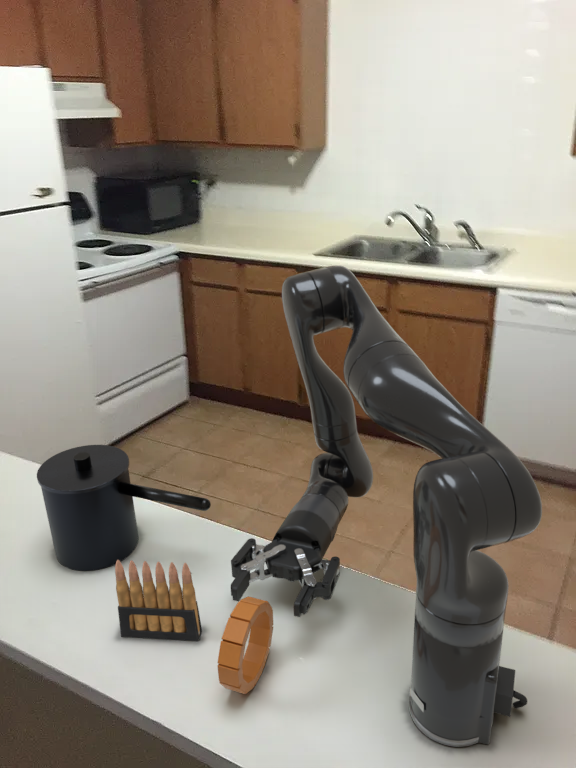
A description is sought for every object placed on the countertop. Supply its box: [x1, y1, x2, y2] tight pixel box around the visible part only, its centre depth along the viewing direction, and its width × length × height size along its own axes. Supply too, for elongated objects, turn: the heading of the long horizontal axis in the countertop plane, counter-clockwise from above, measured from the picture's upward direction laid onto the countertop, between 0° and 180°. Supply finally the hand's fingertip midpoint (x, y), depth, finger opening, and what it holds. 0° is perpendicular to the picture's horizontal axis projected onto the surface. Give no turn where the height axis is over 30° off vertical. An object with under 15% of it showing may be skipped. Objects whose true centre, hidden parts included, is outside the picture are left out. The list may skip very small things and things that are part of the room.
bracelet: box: [217, 596, 274, 695], centre depth 80 cm, size 3×10×10 cm, turn 159°
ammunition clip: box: [114, 559, 203, 642], centre depth 87 cm, size 11×2×12 cm, turn 84°
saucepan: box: [36, 444, 212, 572], centre depth 102 cm, size 28×14×16 cm, turn 69°
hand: (265, 603), depth 85 cm, fingers open, 8 cm apart
